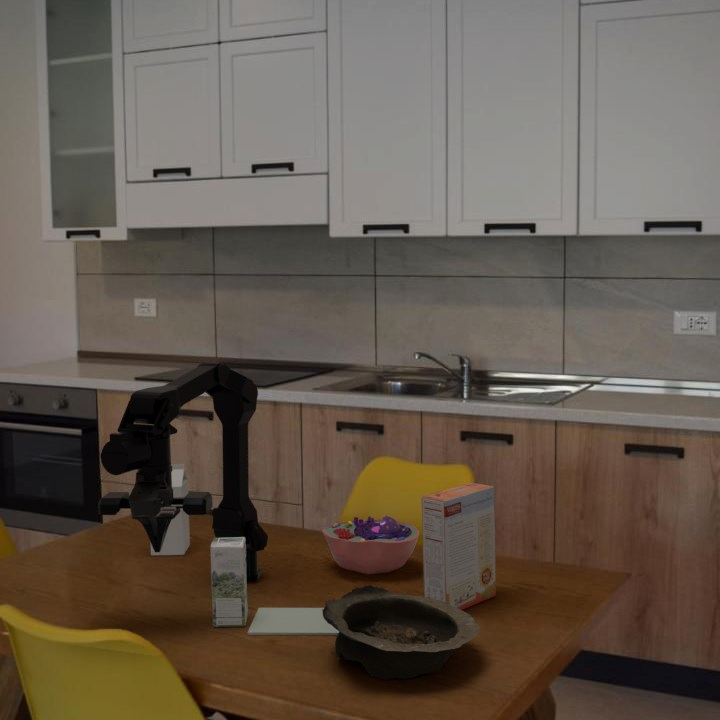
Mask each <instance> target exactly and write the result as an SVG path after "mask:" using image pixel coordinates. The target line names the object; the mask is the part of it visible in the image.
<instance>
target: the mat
mask: <svg viewBox="0 0 720 720" xmlns="http://www.w3.org/2000/svg"><path fill="white" fill-rule="evenodd" d="M322 609H323V610H324V607H258V609H257V611H256V612H255V614H254V618H253V620H252V621H251V623H250V626H249V629H248V631H247V635H248V636H254V635H255V636H257V635H258V636H263V635H264V636H265V635H266V636H269V635H270V636H285V635H286V636H337V635H338V633H339V631H338V630H337V629H335V628H334V627H333V626H332V625H330V624H328V623H327V621H326V620H325V619H324V617H323V612H322Z"/></svg>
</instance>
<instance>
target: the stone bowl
mask: <svg viewBox="0 0 720 720" xmlns="http://www.w3.org/2000/svg"><path fill="white" fill-rule="evenodd" d="M324 603H325V606H324V607H323V608H324V610H323V609H322V612H323V617H324V619H325V620H326V621H327V623H328V624H330V625H332V626H333V627H334V628H335V629H337V630H338V631H339V633H338V635H336V638H335V642H334V648H335V650H334V651H335V655H336V657H337V658H338V659H340V660H345V661H351V662H352V661H353V662H359V663H361V665H362V666H363V667H364V669H365V670H366V671H367V672H368V673H369V675H370V676H371V677H373V678H378V679H381V680H392V679H396V678H397V679H401V680H407V679H411V678H412V679H413V678H415V677H416V676H419V675H425V674H435V673H438V672H439V671H440V670H441V669H442V667H443V666H444V665H445V663H447V662H448V661H449V658H450V656H451V655H452V653H453V651H454V650H455V649H458V648H461V647H462V646H463V645H464V644H466V643H468V642H469V641H471V640H473V639H475V638H476V636H477V635H478V634H479V632H480V629H481V628H480V625H479V624H478V623H476V622H475V621H476V619H475V618H473V616H472V615H471V614H469V613H467V612H465V611H464V610H460V609H458V608H455V607H453V606H451V605H450V604H448V603H446V602H442V601H440V600H436V599H433V598H429V597H424V596H423V595H411V594H395V593H393V592H391V591H389V590H387V589H385V588H384V587H381V586H379V587H378V586H373V585H365V586H363V587H362V586H361V587H357V586H356V587H355V588H353V589H352V590H351V591H349V592H347V593H346V594H344V595H343V596H341V597H340V599H335V598H334V599H331V600H325V601H324Z"/></svg>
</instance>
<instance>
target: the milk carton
mask: <svg viewBox="0 0 720 720" xmlns="http://www.w3.org/2000/svg"><path fill="white" fill-rule="evenodd" d="M171 466H172V472H171V474H172V489H173V497H185V496H186V495H187V494H188V493H189V487H188V486H189V485H188V476H187V473H186V470H185V463H180V464H179V463H177V464H175V463H174V464H172V463H171ZM159 514H160V513H159ZM159 514H158V515H159ZM158 515H157V516H158ZM190 536H191V535H190V515H187V514H186V513H185V512H184V511H183V508H180V513H179V514H178V515H177V516H176V517H175V518H174V519H172V520H171V522H170V524H169V527H168V530H167V533H166V536H165V539H164V542H163V545H162V549H161V551H160V552H155V551H154V549H153V547H152V544H151V542H150V541H149V543H150V556H184V555H185V554H186V552H187V551H188V549H189V547H190V546H191V539H190Z"/></svg>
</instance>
